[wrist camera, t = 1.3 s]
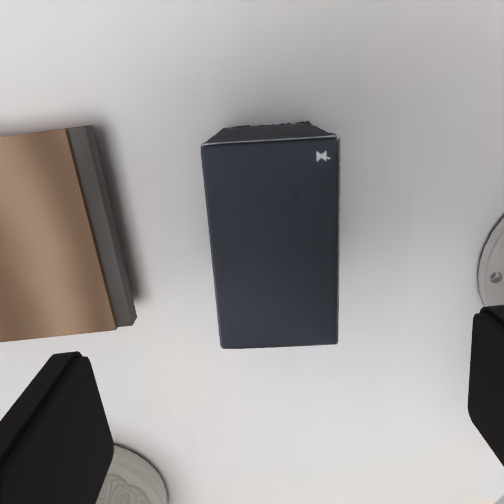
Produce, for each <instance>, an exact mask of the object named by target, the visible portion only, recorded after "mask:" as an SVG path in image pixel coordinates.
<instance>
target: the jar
mask: <svg viewBox="0 0 504 504" xmlns="http://www.w3.org/2000/svg"><path fill="white" fill-rule="evenodd" d="M96 504H168V496H167V491H166V487H165V485H164V482H163V480H162V478H161V477H160V475H159V474H158V473H157V471H156V470H155V469H154V468H153V467H152V466H151V465H150V464H149V463H148V462H147V461H146V460H144V459H143V458H141V457H140V456H138V455H137V454H135V453H133V452H131V451H129V450H127V449H124V448H121V447H118V446H115V445H114V455H113V459H112V462H111V464H110V467H109V470H108V472H107V475H106V477H105V480H104V483H103V485H102V488H101V491H100V493H99V496H98V498H97V501H96Z"/></svg>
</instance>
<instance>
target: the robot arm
mask: <svg viewBox="0 0 504 504" xmlns="http://www.w3.org/2000/svg"><path fill="white" fill-rule="evenodd" d="M478 282H479V292H480V295H481V298H482V301H483V304H484V306H485V307H483V308H481V310H480V313H478V314H475V315H474V317H473V328H472V345H471V361H470V378H469V394H468V412H469V415H470V418H471V420H472V422H473V424H474V425H475V426H476V428H477V429H478V431H479V432H480V434H481V435H482V436H483V438H484V439H485V441H486V442H487V443H488V445H489V446H490V448H491V449H492V450H493V452H494V453H495V455H496V456H497V458H498V459H499V460H500V462H501V463H502V465H503V466H504V218H503V219H502V220H501V221H500V223H499V224H498V225H497V227H496V228H495V229H494V231H493V232H492V234H491V236H490V238H489V240H488V242H487V243H486V245H485V248H484V251H483V254H482V257H481V260H480V265H479V274H478ZM113 455H114V443H113V439H112V436H111V432H110V429H109V425H108V422H107V418H106V415H105V412H104V408H103V405H102V401H101V398H100V394H99V391H98V387H97V384H96V380H95V377H94V373H93V370H92V366H91V363H90V360H89V358H88V357H86V356H85V357H83V356H82V355H81V353H80V352H78V351H76V352H67V353H58V354H53V355H52V356H51V357H50V358H49V360H48V361H47V362H46V364H45V365H44V366H43V367H42V369H41V370H40V371H39V372H38V374H37V375H36V376H35V378H34V379H33V380H32V381H31V383H30V384H29V385H28V387H27V388H26V389H25V390H24V392H23V393H22V394H21V395H20V397H19V398H18V399H17V401H16V402H15V403H14V404H13V406H12V407H11V408H10V410H9V411H8V412H7V413H6V415H5V416H4V417H3V418H2V420H1V421H0V504H96V501H97V498H98V496H99V493H100V491H101V488H102V485H103V483H104V480H105V477H106V475H107V472H108V470H109V467H110V464H111V462H112V459H113Z"/></svg>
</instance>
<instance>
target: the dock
mask: <svg viewBox="0 0 504 504" xmlns="http://www.w3.org/2000/svg"><path fill="white" fill-rule="evenodd" d="M136 318H137V315H136V310H135V306H134V302H133V298H132V293H131V289H130V285H129V281H128V276H127V272H126V268H125V263H124V259H123V255H122V251H121V246H120V242H119V238H118V233H117V229H116V225H115V221H114V216H113V212H112V208H111V204H110V199H109V195H108V191H107V186H106V182H105V178H104V174H103V169H102V165H101V161H100V157H99V152H98V148H97V144H96V139H95V135H94V131H93V127H92V125H91V126H83V127H75V128H67V129H59V130H51V131H44V132H36V133H28V134H20V135H12V136H4V137H0V342H7V341H17V340H26V339H36V338H45V337H55V336H64V335H73V334H83V333H92V332H102V331H111V330H116V329H117V328H118V327H123V326H132V325H133V323H134V322H135V320H136Z"/></svg>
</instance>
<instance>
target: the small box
mask: <svg viewBox="0 0 504 504" xmlns="http://www.w3.org/2000/svg"><path fill="white" fill-rule="evenodd" d="M201 157H202V167H203V176H204V186H205V196H206V206H207V215H208V225H209V234H210V244H211V255H212V265H213V275H214V285H215V295H216V305H217V316H218V326H219V336H220V345H221V348H223V349H245V348H269V347H291V346H313V345H330V344H337V343H338V311H339V294H338V292H339V209H340V208H339V198H340V138H339V137H338V136H337V135H336V134H334V133H328V132H326V131H324V130H322V129H320V128H318V127H316V126H313V125H312V124H311V123H310V122H309V121H307V122H299V123H296V124H290V123H287V124H280V125H266V126H263V125H260V126H249V125H246V126H237V127H232V128H224V129H222V130H221V131H220V132H218V133H217V134H216V135H214V136H213V137H212V138H210V139H209V140H208V141H207V142H205V143H203V144H202V145H201Z"/></svg>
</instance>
